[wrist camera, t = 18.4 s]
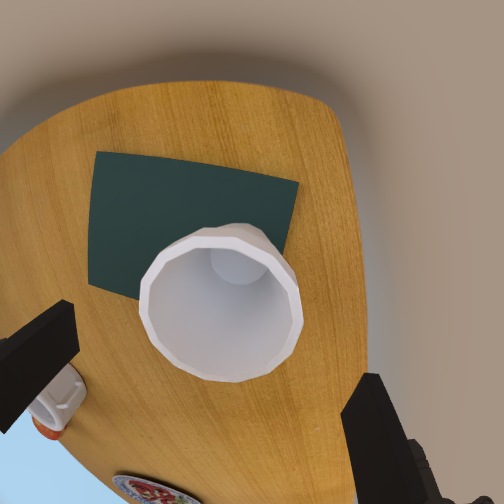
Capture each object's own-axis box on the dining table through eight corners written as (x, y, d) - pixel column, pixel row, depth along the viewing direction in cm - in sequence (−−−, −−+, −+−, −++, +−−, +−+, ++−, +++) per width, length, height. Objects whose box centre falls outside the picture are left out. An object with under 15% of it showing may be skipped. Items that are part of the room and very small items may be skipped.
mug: (64, 397, 38) (40, 428, 29) (35, 352, 36) (4, 381, 26) (108, 399, 37) (83, 439, 27) (75, 348, 34) (40, 385, 24)
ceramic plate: (126, 493, 51) (123, 499, 48) (104, 458, 44) (100, 466, 42) (205, 514, 51) (204, 522, 48) (205, 488, 44) (203, 498, 41)
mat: (298, 182, 26) (299, 182, 25) (263, 325, 30) (263, 330, 29) (101, 151, 26) (96, 151, 25) (92, 281, 30) (88, 284, 29)
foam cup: (184, 217, 27) (118, 253, 14) (277, 197, 25) (285, 216, 13) (208, 304, 29) (171, 386, 16) (295, 289, 28) (311, 372, 15)
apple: (68, 427, 42) (53, 448, 34) (41, 403, 41) (25, 423, 33) (74, 417, 40) (58, 441, 32) (45, 391, 39) (26, 413, 31)
